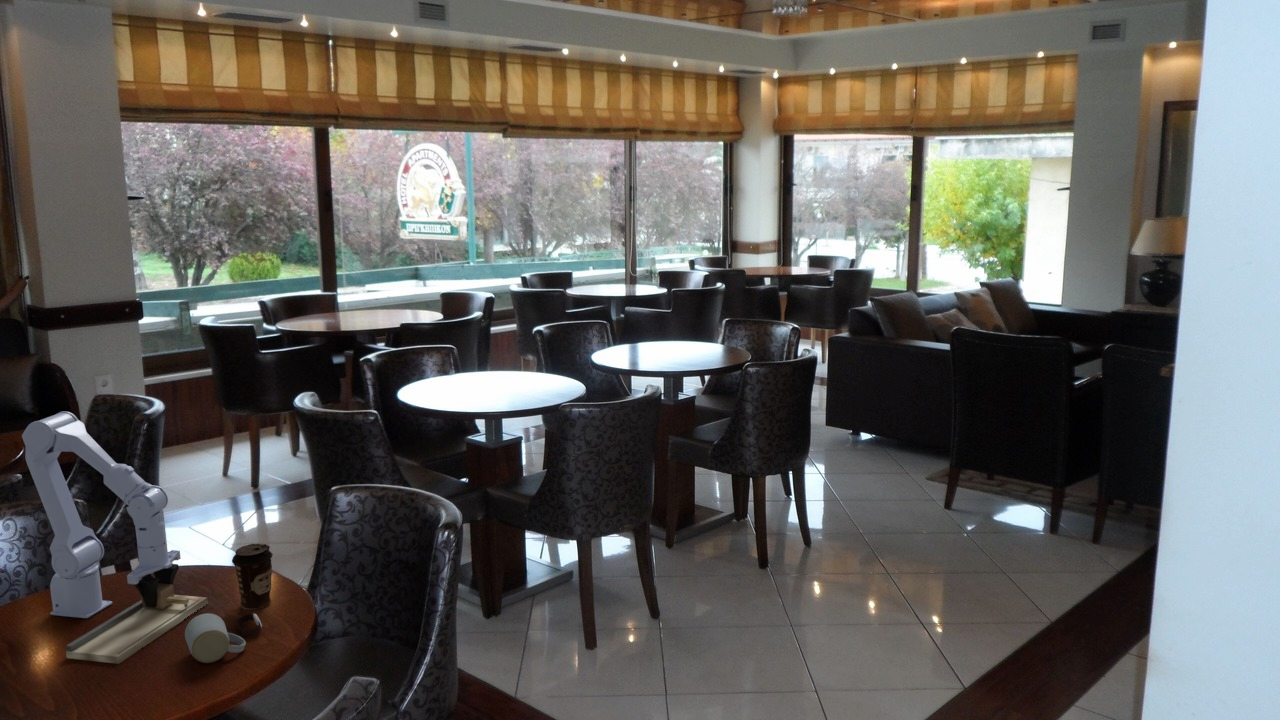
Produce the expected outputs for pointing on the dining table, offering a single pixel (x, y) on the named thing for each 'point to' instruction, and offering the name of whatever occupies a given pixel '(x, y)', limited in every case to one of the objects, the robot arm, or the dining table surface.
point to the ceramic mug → (210, 638)
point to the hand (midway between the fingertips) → (158, 602)
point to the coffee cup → (254, 575)
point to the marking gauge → (166, 597)
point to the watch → (249, 618)
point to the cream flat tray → (130, 631)
